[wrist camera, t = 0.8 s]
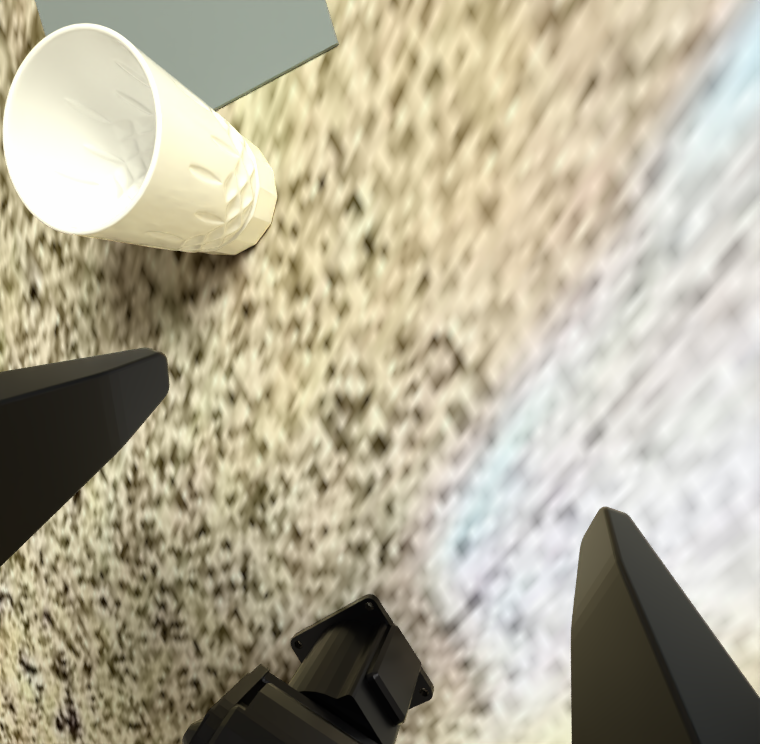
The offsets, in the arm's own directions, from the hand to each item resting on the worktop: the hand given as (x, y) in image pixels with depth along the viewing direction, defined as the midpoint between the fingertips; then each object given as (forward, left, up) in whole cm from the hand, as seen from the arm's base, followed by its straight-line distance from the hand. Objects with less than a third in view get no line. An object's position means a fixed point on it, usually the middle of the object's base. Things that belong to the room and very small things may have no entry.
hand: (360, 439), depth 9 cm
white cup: (-6, +16, -17) cm, 24 cm away
